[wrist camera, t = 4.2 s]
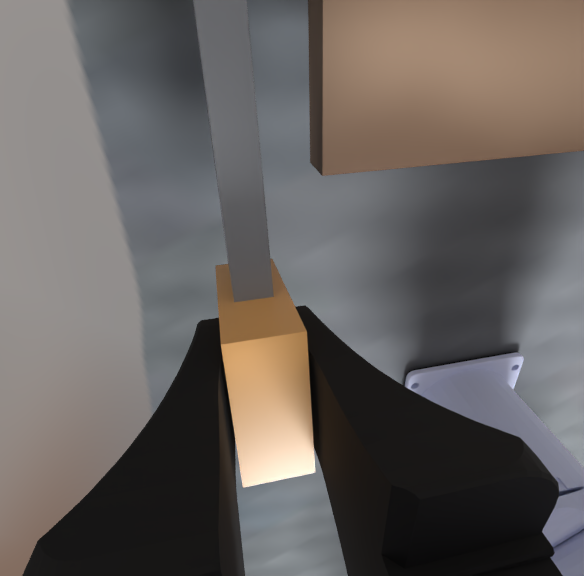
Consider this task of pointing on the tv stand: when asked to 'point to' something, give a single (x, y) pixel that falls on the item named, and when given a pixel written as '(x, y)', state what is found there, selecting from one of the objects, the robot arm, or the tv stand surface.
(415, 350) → the tv stand surface
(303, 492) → the tv stand surface
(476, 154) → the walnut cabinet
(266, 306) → the grey handled mallet
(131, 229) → the tv stand surface
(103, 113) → the tv stand surface
